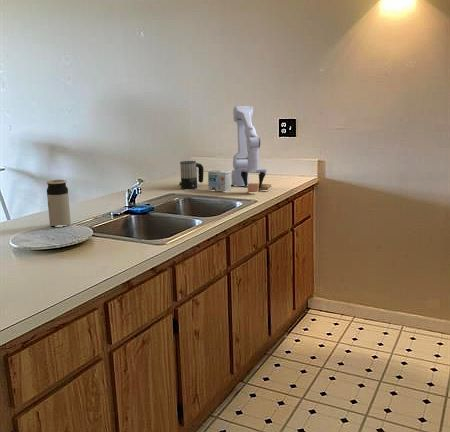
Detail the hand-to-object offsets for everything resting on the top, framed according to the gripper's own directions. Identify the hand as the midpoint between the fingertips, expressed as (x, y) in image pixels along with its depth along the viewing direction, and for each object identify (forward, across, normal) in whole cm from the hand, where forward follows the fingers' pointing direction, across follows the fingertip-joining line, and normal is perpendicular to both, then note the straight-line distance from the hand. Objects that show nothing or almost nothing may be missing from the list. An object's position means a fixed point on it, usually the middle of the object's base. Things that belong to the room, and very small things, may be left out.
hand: (253, 186), depth 269 cm
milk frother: (+3, -40, +6) cm, 41 cm away
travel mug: (+4, -54, -88) cm, 103 cm away
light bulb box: (+4, -19, +1) cm, 19 cm away
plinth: (+3, +2, +10) cm, 11 cm away
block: (+3, 0, 0) cm, 4 cm away
